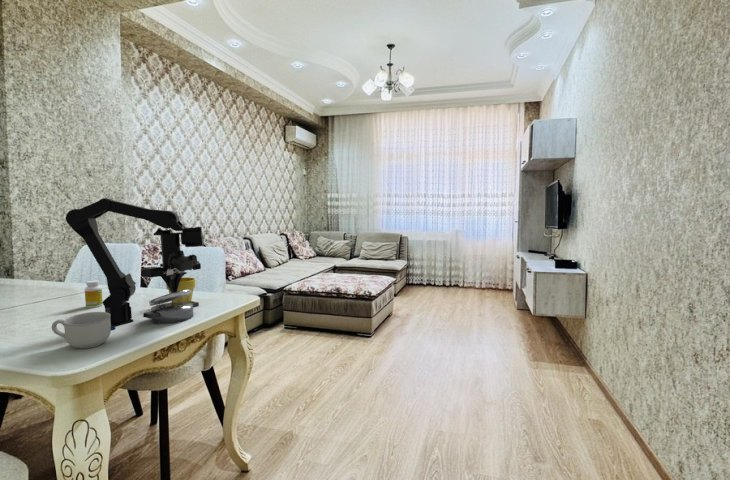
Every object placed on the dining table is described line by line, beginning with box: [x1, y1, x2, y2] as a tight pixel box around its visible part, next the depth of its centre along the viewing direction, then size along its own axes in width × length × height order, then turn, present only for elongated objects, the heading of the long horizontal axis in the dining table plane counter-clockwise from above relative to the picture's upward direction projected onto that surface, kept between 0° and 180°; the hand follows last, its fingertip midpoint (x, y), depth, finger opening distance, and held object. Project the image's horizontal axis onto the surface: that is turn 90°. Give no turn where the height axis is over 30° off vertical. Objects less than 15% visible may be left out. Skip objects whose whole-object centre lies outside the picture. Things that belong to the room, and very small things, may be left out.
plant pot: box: [165, 276, 196, 302], centre depth 154 cm, size 10×10×10 cm
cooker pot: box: [142, 300, 200, 325], centre depth 135 cm, size 18×13×4 cm
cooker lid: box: [148, 289, 191, 307], centre depth 135 cm, size 13×13×3 cm
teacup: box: [51, 311, 112, 350], centre depth 109 cm, size 14×11×8 cm
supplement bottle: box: [84, 279, 104, 309], centre depth 151 cm, size 5×5×10 cm
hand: (174, 293), depth 134 cm, fingers closed, pressing on cooker lid
